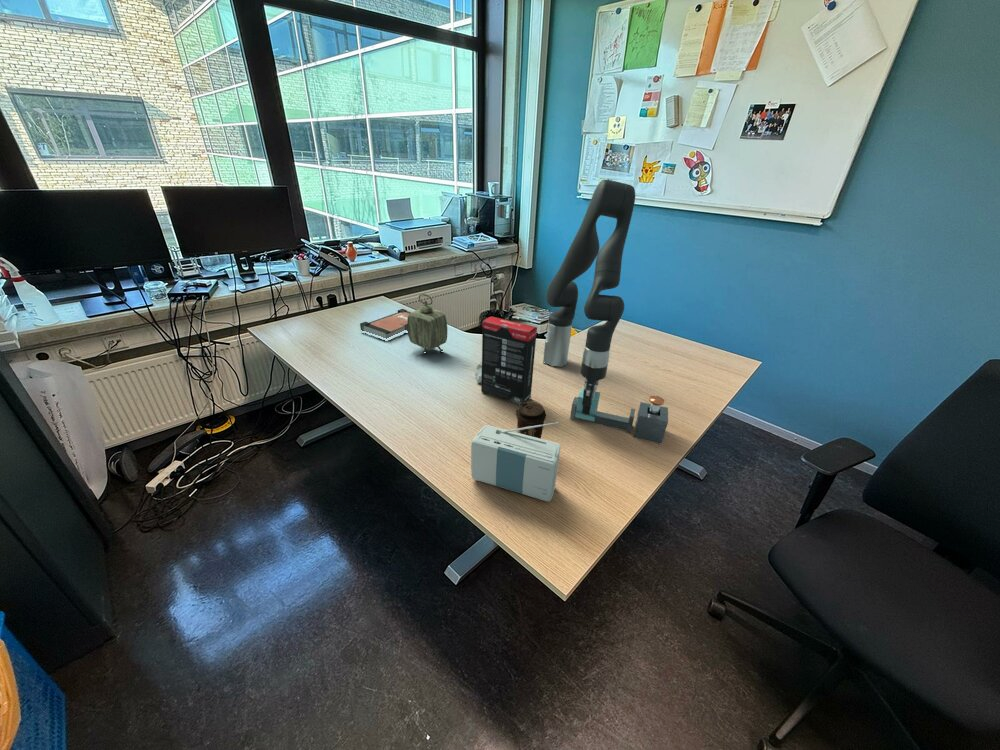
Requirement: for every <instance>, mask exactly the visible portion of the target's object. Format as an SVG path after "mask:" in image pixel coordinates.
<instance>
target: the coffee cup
mask: <svg viewBox="0 0 1000 750" xmlns="http://www.w3.org/2000/svg"><path fill="white" fill-rule="evenodd" d="M518 407H519V408H517V409H516V410H515V416H516V420H517V424H516V425H517V426H516V429H518V428H524V427H530V426H536V425H543V424H545V420H546V418H547V412H546V409H545V408H544V406H543V405H542V404H541V403H539V402H536V401H527V402H525V403H521V404H520V405H519V406H518ZM543 431H544V426H541V427H535V428H530V429H524V430H518V431H517V433H520V434H524V435H528V436H532V437H536V438H540V439H542V435H543Z"/></svg>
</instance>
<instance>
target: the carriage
mask: <svg viewBox="0 0 1000 750" xmlns="http://www.w3.org/2000/svg"><path fill="white" fill-rule="evenodd" d="M583 392H584V388H580V391H579V393H578V402H577V408H576V415H575V417H577V418H581V419H586V420H590V421H595V415H596V412H597V411H598V408H599V402H600V397H601V391H600V392H599V391H597V390H596V391H595V396H594V398H592V404H591V407H590V413H589V415H586V414H583V413H582V409H583V405H582V402H583ZM593 392H594V391H593ZM592 395H593V394H592ZM587 401H588V400H587Z"/></svg>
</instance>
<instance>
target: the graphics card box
mask: <svg viewBox="0 0 1000 750" xmlns="http://www.w3.org/2000/svg"><path fill="white" fill-rule="evenodd" d="M481 327H482V330H481V331H482V333H481V335H482V338H481V340H482V341H481V342H482V343H481V344H482V345H481V348H482V349H481V362H482V381H481V383H480V384H481V389H480V390H481V393H485V394H487V395H489V396H492V397H495V398H499V399H501V400H505V401H507V402H510V403H513V404H516V405H519V406H520V404H521V403H525V402H529V400H531V399H532V398H531V397H532V386H533V377H534V376H533V375H534V365H535V364H534V363H535V353H536V345H537V336H538V335H537V333H538V327H537V326H533V325H529V324H525V323H521V322H516V321H512V320H508V319H505V318H499V317H497V316H496V317H495V316H489V317H487V318H485V319H483V320H482V326H481Z"/></svg>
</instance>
